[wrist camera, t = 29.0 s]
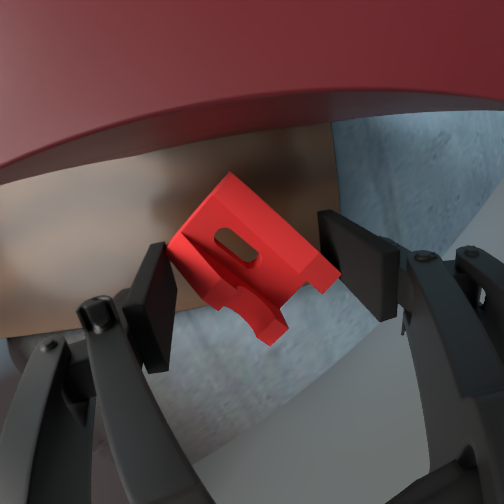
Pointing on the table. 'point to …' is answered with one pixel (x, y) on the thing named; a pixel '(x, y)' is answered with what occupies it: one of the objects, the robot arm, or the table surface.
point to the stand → (144, 217)
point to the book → (228, 70)
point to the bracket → (242, 272)
